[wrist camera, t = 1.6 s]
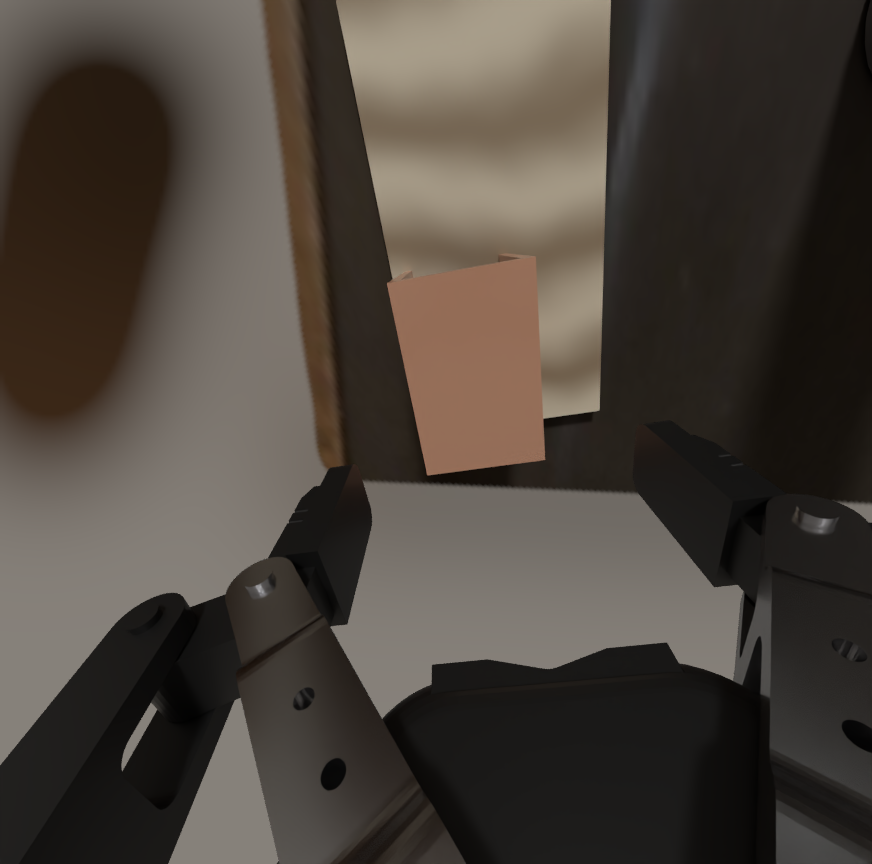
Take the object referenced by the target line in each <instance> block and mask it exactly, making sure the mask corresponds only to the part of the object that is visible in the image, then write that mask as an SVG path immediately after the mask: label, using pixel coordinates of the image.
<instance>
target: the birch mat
mask: <svg viewBox="0 0 872 864" xmlns="http://www.w3.org/2000/svg"><path fill="white" fill-rule="evenodd" d="M336 3H337V8H338V13H339V18H340V22H341V27H342V32H343V37H344V42H345V47H346V52H347V57H348V62H349V67H350V72H351V77H352V82H353V86H354V91H355V96H356V101H357V106H358V111H359V116H360V121H361V126H362V131H363V136H364V141H365V146H366V150H367V155H368V160H369V165H370V170H371V175H372V180H373V185H374V190H375V195H376V200H377V205H378V209H379V214H380V219H381V224H382V229H383V234H384V239H385V244H386V249H387V254H388V259H389V264H390V269H391V273H392V278H393V279H394V278H396V277H397V276H399V275H400V274H402V273H403V272H407V271H412V273H413V278H414V277H420V276H425V275H431V274H437V273H442V272H448V271H453V270H459V269H464V268H470V267H475V266H481V265H486V264H492V263H497V262H499V255H500V254H505V253H509V254H518V255H527V256H536V270H537V293H538V315H539V337H540V359H541V382H542V404H543V419H544V418H551V417H558V416H565V415H572V414H579V413H587V412H594V411H599V407H600V370H601V334H602V298H603V262H604V226H605V189H606V153H607V117H608V81H609V44H610V8H611V0H336Z"/></svg>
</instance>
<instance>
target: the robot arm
mask: <svg viewBox="0 0 872 864" xmlns="http://www.w3.org/2000/svg"><path fill="white" fill-rule="evenodd" d="M865 50H866V57H867V63H868V67H869V69H870V71H871V73H872V0H870V4H869V8H868V13H867V17H866V26H865ZM633 480H634V484H635V487H636V489H637V491H638V493H639V495H640V496H641V497H642V498H643V500H644V501H645V502H646V503H647V505H648V506H649V507H650V508H651V510H652V511H653V512H654V513H655V515H656V516H657V517H658V518H659V519H660V521H661V522H662V523H663V524H664V526H665V527H666V528H667V529H668V530H669V532H670V533H671V534H672V536H673V537H674V538H675V539H676V540H677V542H678V543H679V544H680V545H681V547H682V548H683V549H684V550H685V551H686V553H687V554H688V555H689V556H690V558H691V559H692V560H693V561H694V563H695V564H696V565H697V566H698V568H699V569H700V570H701V571H702V573H703V574H704V575H705V576H706V577H707V579H708V580H709V581H710V582H711V584H712V585H713V586H714V587H720V586H730V585H739V587H740V588H741V589H742V590H743V591H744V592H743V595H742V599H741V603H740V615H739V626H738V638H737V650H736V661H735V671H734V678H733V681H732V680H730V679H728V678H725V677H723V676H721V675H718V674H715V673H713V672H710V671H707V670H704V669H701V668H697V667H693V666H689V665H685V664H679V663H678V661H677V659H676V658H675V656H674V654H673V652H672V651H671V649H670V647H669V645H668V644H667V643H657V644H647V645H637V646H626V647H616V648H606V649H604V650H601V651H599V652H596V653H593V654H591V655H588V656H586V657H583V658H580V659H578V660H575V661H573V662H570V663H568V664H565V665H562V666H560V667H557V668H554V669H542V668H536V667H530V666H523V665H517V664H511V663H505V662H499V661H493V660H478V661H467V662H458V663H446V664H436V665H432V685H430V686H427V687H425V688H423V689H421V690H419V691H417V692H415V693H413V694H411V695H410V696H408V697H407V698H406V699H404V700H403V701H401V702H400V703H399V704H397V705H396V706H395V707H394V708H393V709H392V710H391V711H390V712H388V713H387V714H386V715H385V717H384V718H383V719H382V718H381V716H380V715H379V713H378V711H377V709H376V707H375V706H374V704H373V702H372V700H371V698H370V697H369V696H368V693H367V692H366V690H365V688H364V686H363V684H362V683H361V681H360V679H359V677H358V675H357V674H356V672H355V670H354V668H353V666H352V665H351V663H350V661H349V659H348V658H347V656H346V654H345V653H344V650H343V649H342V647H341V645H340V644H339V642H338V640H337V638H336V636H335V634H334V633H333V631H332V629H331V628H330V627H331V626H336V625H345V624H347V623H348V619H349V615H350V611H351V607H352V603H353V599H354V595H355V591H356V587H357V583H358V579H359V575H360V571H361V567H362V563H363V559H364V555H365V551H366V546H367V543H368V539H369V535H370V531H371V526H372V514H371V508H370V504H369V501H368V498H367V494H366V491H365V488H364V484H363V481H362V478H361V474H360V471H359V469H358V467H357V466H356V465H355V464H353V465H346V466H339V467H332V468H330V469H329V470H328V472H327V474H326V476H325V478H324V480H323V482H322V483H321V485H320V486H316V487H313V488H312V489H311V490H310V491H309V492H308V493H307V494H306V495H305V496H303V497H302V498H301V500H300V502H299V503H298V505H297V507H296V509H295V513H293V514H292V516H291V518H290V520H289V523H288V524H287V525H286V527H285V529H284V530H283V532H282V534H281V536H280V538H279V539H278V541H277V543H276V545H275V546H274V548H273V550H272V552H271V554H270V555H269V557H268V559H264V560H261V561H259V562H257V563H255V564H253V565H251V566H250V567H248V568H246V569H245V570H244V571H242V572H241V573H240V574H239V575H238V576H237V577H236V578H235V579H234V580H233V581H232V582H231V584H230V585H229V587H228V589H227V592H226V594H225V595H223V596H220V597H217V598H214V599H212V600H209V601H206V602H203V603H201V604H198V605H196V606H192V607H189V605H188V604H187V602H186V601H185V599H184V598H183V596H181V595H180V594H177V593H166V594H162V595H159V596H156V597H153V598H151V599H149V600H147V601H145V602H143V603H141V604H140V605H138V606H137V607H135V608H133V609H132V610H131V611H129V612H128V613H127V614H125V615H124V616H123V617H122V618H121V619H120V620H119V621H118V622H117V623H116V624H115V625H114V626H113V627H112V628H111V630H110V631H109V632H108V633H107V635H106V636H105V637H104V638H103V640H102V641H101V642H100V643H99V644H98V646H97V647H96V648H95V649H94V651H93V652H92V653H91V654H90V656H89V657H88V658H87V659H86V660H85V662H84V663H83V664H82V665H81V667H80V668H79V669H78V670H77V672H76V673H75V674H74V675H73V677H72V678H71V679H70V680H69V682H68V683H67V684H66V685H65V686H64V688H63V689H62V690H61V691H60V693H59V694H58V695H57V696H56V697H55V699H54V700H53V701H52V702H51V704H50V705H49V706H48V707H47V709H46V710H45V711H44V712H43V714H42V715H41V716H40V717H39V718H38V720H37V721H36V722H35V723H34V725H33V726H32V727H31V728H30V730H29V731H28V732H27V733H26V734H25V736H24V737H23V738H22V739H21V741H20V742H19V743H18V744H17V746H16V747H15V748H14V749H13V750H12V752H11V753H10V754H9V755H8V757H7V758H6V759H5V760H4V762H3V763H2V764H1V765H0V864H168V863H169V860H170V858H171V855H172V853H173V851H174V848H175V845H176V843H177V840H178V838H179V836H180V833H181V831H182V828H183V826H184V824H185V821H186V818H187V816H188V814H189V811H190V809H191V806H192V804H193V801H194V799H195V796H196V794H197V791H198V789H199V787H200V784H201V782H202V779H203V777H204V774H205V772H206V769H207V767H208V764H209V762H210V759H211V757H212V754H213V752H214V750H215V747H216V745H217V742H218V740H219V737H220V735H221V732H222V730H223V727H224V725H225V722H226V720H227V718H228V715H229V713H230V710H231V707H232V705H233V703H234V700H236V699H238V698H241V701H242V705H243V710H244V714H245V718H246V723H247V727H248V731H249V735H250V739H251V744H252V748H253V753H254V757H255V761H256V765H257V769H258V774H259V778H260V782H261V787H262V791H263V795H264V800H265V804H266V808H267V812H268V817H269V821H270V825H271V830H272V834H273V838H274V842H275V847H276V851H277V855H278V860H279V861H278V863H277V864H872V523H868V522H867V521H866V519H864V518H863V517H862V516H861V515H860V514H858V513H857V512H855V511H854V510H852V509H850V508H848V507H847V506H844V505H842V504H840V503H837V502H834V501H832V500H828V499H825V498H821V497H817V496H812V495H805V494H787V493H785V492H784V491H782V490H781V489H780V488H778V487H777V486H775V485H774V484H773V483H771V482H770V481H768V480H767V479H765V478H764V477H763V476H761V475H760V474H758V473H757V472H756V471H754V470H753V469H751V468H750V467H748V466H747V465H743V462H741V461H740V460H739V459H737V458H736V457H734V456H730V453H729V452H727V451H726V450H724V449H723V448H722V447H720V446H719V445H717V444H716V443H714V442H712V441H709V440H706V439H704V438H701V437H698V436H696V435H690V434H689V433H687V432H686V431H685V430H683V429H682V428H681V427H679V426H678V425H676V424H675V423H674V422H672V421H670V420H668V421H660V422H653V423H646V424H640V425H639V426H638V427H637V430H636V436H635V450H634V464H633ZM150 703H152V704H153V705H154V706H155V707H156V708H157V711H156V713H155V715H154V717H153V718H152V720H151V722H150V724H149V726H148V727H147V729H146V731H145V732H144V734H143V736H142V738H141V740H140V741H139V743H138V745H137V747H136V749H135V750H134V752H133V754H132V756H131V757H130V759H129V761H128V763H127V764H126V766H125V768H124V770H123V771H122V770H121V763H122V757H123V752H124V749H125V747H126V745H127V742H128V741H129V739H130V737H131V735H132V734H133V732H134V730H135V728H136V727H137V725H138V723H139V722H140V720H141V718H142V717H143V715H144V713H145V711H146V710H147V708H148V706H149V705H150Z"/></svg>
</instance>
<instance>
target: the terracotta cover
mask: <svg viewBox="0 0 872 864" xmlns="http://www.w3.org/2000/svg"><path fill="white" fill-rule="evenodd" d="M387 286H388V291H389V295H390V300H391V305H392V310H393V314H394V319H395V324H396V329H397V333H398V338H399V343H400V348H401V352H402V357H403V362H404V367H405V371H406V376H407V381H408V386H409V390H410V395H411V400H412V405H413V409H414V414H415V419H416V424H417V428H418V433H419V438H420V443H421V447H422V452H423V457H424V462H425V466H426V471H427V475H435V474H442V473H450V472H457V471H465V470H472V469H480V468H488V467H495V466H503V465H510V464H518V463H525V462H533V461H540V460H545V448H544V426H543V404H542V382H541V359H540V337H539V315H538V293H537V270H536V256H527V255H518V254H509V253H505V254H500V255H499V262H497V263H492V264H486V265H481V266H475V267H470V268H464V269H459V270H453V271H448V272H442V273H437V274H431V275H425V276H420V277H414V278H413V273H412V271H407V272H403V273H402V274H400V275H399V276H397V277H396V278H394V279H393V280H391V281H390V282H388V283H387Z"/></svg>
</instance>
